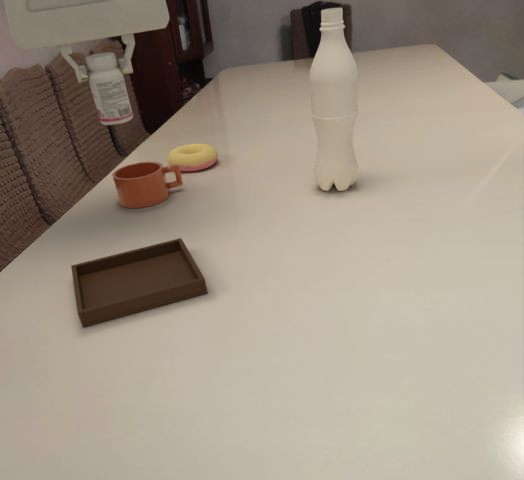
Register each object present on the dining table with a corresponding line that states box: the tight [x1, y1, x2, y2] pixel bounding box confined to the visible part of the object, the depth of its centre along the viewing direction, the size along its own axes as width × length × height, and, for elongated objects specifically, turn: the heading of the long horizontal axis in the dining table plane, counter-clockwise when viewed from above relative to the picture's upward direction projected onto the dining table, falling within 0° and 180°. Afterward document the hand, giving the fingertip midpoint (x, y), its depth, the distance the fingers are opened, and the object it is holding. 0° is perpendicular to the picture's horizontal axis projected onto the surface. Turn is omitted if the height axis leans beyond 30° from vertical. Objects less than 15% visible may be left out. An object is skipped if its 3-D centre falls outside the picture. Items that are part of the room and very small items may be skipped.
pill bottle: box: [84, 51, 134, 126], centre depth 74 cm, size 5×5×8 cm
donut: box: [167, 143, 218, 172], centre depth 105 cm, size 10×5×9 cm
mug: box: [111, 161, 184, 209], centre depth 93 cm, size 12×9×5 cm
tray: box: [71, 237, 208, 328], centre depth 68 cm, size 15×13×2 cm
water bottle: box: [308, 7, 359, 192], centre depth 81 cm, size 7×7×25 cm
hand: (105, 77), depth 73 cm, fingers closed on pill bottle, 5 cm apart
